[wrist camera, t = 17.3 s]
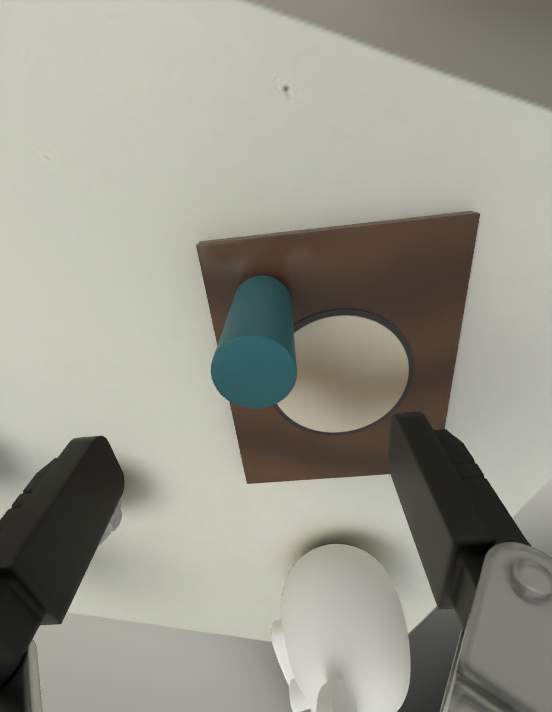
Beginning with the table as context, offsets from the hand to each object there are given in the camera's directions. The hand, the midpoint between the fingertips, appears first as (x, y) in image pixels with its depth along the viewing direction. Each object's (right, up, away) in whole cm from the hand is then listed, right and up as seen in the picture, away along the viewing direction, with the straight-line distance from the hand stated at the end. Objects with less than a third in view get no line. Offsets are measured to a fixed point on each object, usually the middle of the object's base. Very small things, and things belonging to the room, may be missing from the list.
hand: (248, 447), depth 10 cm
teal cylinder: (0, +6, +12) cm, 13 cm away
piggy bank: (+7, -19, +27) cm, 33 cm away
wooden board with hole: (+5, +2, +15) cm, 16 cm away
